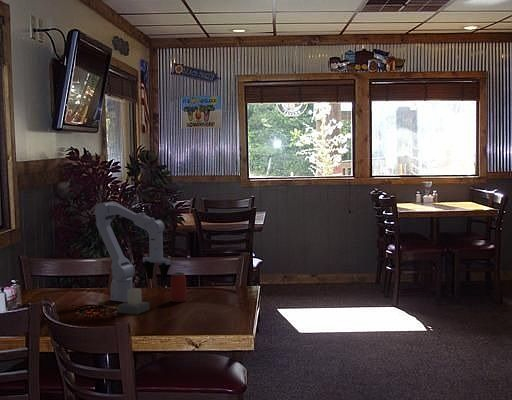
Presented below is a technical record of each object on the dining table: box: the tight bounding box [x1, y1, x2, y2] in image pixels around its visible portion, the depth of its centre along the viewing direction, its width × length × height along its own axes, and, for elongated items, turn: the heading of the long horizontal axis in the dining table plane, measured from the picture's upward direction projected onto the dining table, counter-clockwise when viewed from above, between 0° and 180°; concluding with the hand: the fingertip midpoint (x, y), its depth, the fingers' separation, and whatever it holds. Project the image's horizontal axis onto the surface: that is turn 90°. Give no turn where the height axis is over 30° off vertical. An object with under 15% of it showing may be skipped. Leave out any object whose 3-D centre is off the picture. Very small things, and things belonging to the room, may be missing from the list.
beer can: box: [170, 272, 187, 303], centre depth 296 cm, size 7×7×12 cm
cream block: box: [127, 287, 143, 305], centre depth 278 cm, size 4×4×6 cm
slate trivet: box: [117, 301, 151, 315], centre depth 278 cm, size 9×9×3 cm
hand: (156, 279), depth 293 cm, fingers open, 7 cm apart
